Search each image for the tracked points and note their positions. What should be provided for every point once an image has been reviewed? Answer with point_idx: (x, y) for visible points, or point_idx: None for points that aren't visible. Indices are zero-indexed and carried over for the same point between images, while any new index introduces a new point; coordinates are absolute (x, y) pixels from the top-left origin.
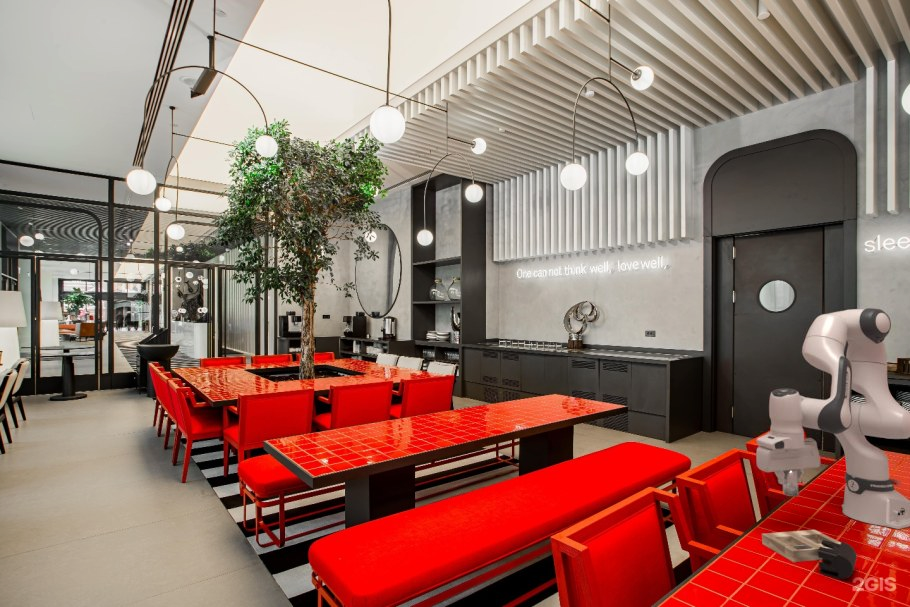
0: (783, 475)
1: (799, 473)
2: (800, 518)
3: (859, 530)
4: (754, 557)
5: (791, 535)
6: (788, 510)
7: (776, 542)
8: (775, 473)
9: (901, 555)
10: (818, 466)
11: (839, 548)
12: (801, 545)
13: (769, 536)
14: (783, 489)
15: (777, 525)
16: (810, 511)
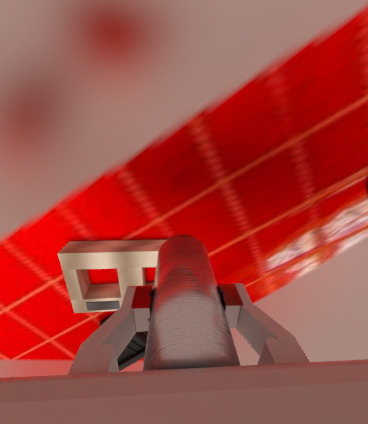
0: (148, 329)
1: (257, 340)
2: (266, 140)
3: (314, 217)
4: (21, 280)
5: (120, 266)
6: (292, 78)
7: (67, 284)
8: (90, 339)
9: (268, 293)
10: None
11: (121, 365)
12: (107, 299)
13: (67, 265)
14: (158, 260)
15: (172, 167)
16: (339, 101)
